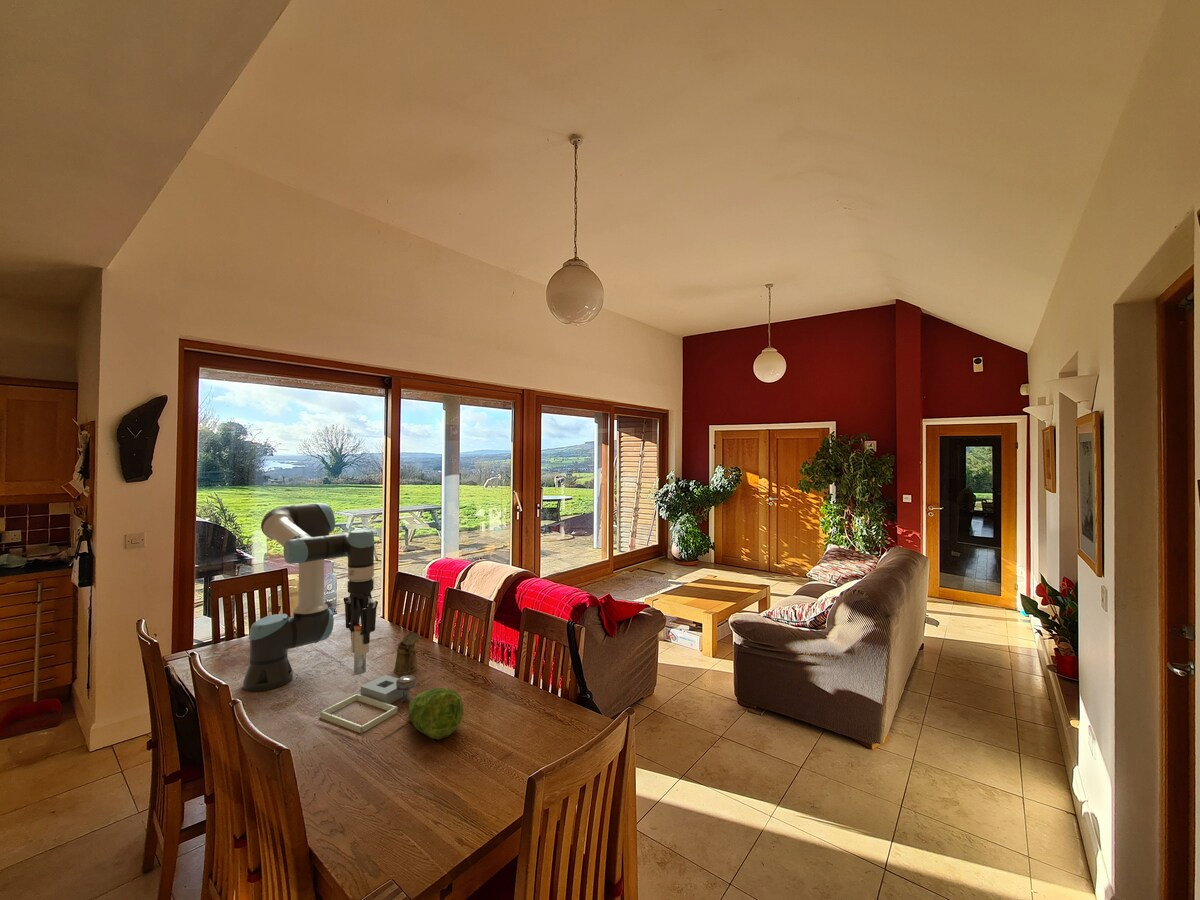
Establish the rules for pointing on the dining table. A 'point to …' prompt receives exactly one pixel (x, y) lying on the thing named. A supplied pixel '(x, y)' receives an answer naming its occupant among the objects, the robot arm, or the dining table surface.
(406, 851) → the dining table surface
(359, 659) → the pin
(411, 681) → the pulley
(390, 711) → the tray
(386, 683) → the block
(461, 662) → the dining table surface
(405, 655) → the wooden mug
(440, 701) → the lettuce
